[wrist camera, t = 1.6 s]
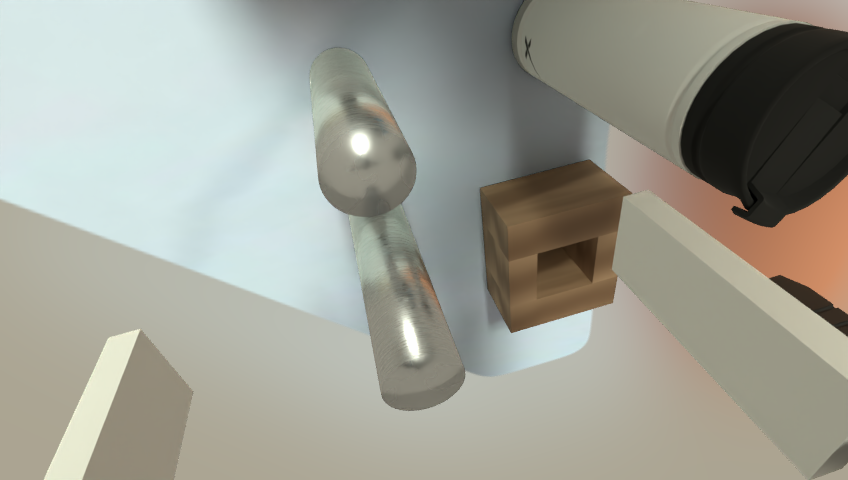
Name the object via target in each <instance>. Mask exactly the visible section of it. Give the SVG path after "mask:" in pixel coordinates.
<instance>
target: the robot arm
mask: <svg viewBox="0 0 848 480" xmlns="http://www.w3.org/2000/svg"><path fill="white" fill-rule="evenodd" d="M612 270H613V271H614V272H615V273H616V275H617V276H618V277H619V278H620V279H621V280H622V281H623V282H624V283H625V284H626V285H627V286H628V287H629V289H630V290H631V291H632V292H633V293H634V294H635V295H636V296H637V297H638V298H639V299H640V300H641V301H642V302H643V304H644V305H645V306H646V307H647V308H648V309H649V310H650V311H651V312H652V313H653V314H654V315H655V316H656V318H658V320H659V321H660V322H661V323H662V324H663V325H664V326H665V327H666V328H667V329H668V331H669V332H671V334H672V335H673V336H674V337H675V338H676V339H677V340H678V341H679V342H680V343H681V345H682V346H683V347H685V349H686V350H687V351H688V352H689V353H690V354H691V355H692V356H693V357H694V359H695V360H697V362H698V363H699V364H700V365H701V366H702V367H703V368H704V369H705V370H706V371H707V372H708V374H709V375H710V376H711V377H712V378H713V379H714V380H715V381H716V382H717V383H718V384H719V385H720V386H721V388H722V389H723V390H725V392H726V393H727V394H728V395H729V396H730V397H731V398H732V399H733V400H734V401H735V402H736V404H737V405H738V406H739V407H740V408H741V409H742V410H743V411H744V412H745V413H746V414H747V415H748V417H749V418H750V419H751V420H752V421H753V422H754V423H755V424H756V425H757V426H758V427H759V428H760V430H762V432H763V433H764V434H765V435H766V436H767V437H768V438H769V439H770V440H771V441H772V442H773V444H774V445H775V446H776V447H777V448H778V449H779V450H780V451H781V452H782V453H783V454H784V455H785V456H786V458H787V459H788V460H789V461H790V462H791V463H792V464H793V465H794V466H795V467H796V468H797V469H798V470H799V472H800V473H802V475H803V476H804V477H805V478H806V479H807V480H811V479H814V478H817V477H820V476H823V475H825V474H828V473H831V472H834V471H836V470H839V469H842V468H843V467H844V466H845V465H846V464H847V463H848V314H846V313H845V312H843V311H842V310H841V309H839V308H834V307H833V304H832V303H831V302H829V301H827V300H826V299H825V298H823V297H822V296H820V295H819V294H818V293H816V292H815V291H813V290H812V289H810V288H809V287H807V286H805V285H802V284H800V283H798V282H795V281H793V280H790V279H788V278H786V277H783V276H781V275H778V276H775V277H772V278H767V277H766V276H764V275H763V274H762V273H760V272H759V271H758V270H756V269H755V268H754V267H752V266H751V265H750V264H748V263H747V262H745V261H744V260H743V259H741V258H740V257H739V256H737V255H736V254H735V253H733V252H732V251H731V250H729V249H728V248H727V247H725V246H724V245H723V244H721V243H720V242H718V241H717V240H716V239H714V238H713V237H712V236H710V235H709V234H708V233H706V232H705V231H704V230H702V229H701V228H699V227H698V226H697V225H695V224H694V223H693V222H691V221H690V220H689V219H687V218H686V217H685V216H683V215H682V214H680V213H679V212H678V211H676V210H675V209H674V208H672V207H671V206H670V205H668V204H667V203H666V202H664V201H663V200H662V199H660V198H659V197H657V196H656V195H655V194H654V193H652V192H651V191H649V190H646V191H642V192H639V193H635V194H631V195H627V196H624V197H623V202H622V209H621V215H620V221H619V227H618V234H617V240H616V246H615V252H614V259H613V265H612ZM192 395H193V391H192V389H191V388H190V387H189V386H188V385H187V384H186V382H185V381H184V380H183V379H182V378H181V376H180V375H179V374H178V373H177V372H176V371H175V369H174V368H173V367H172V366H171V365H170V364H169V362H168V361H167V360H166V359H165V357H164V356H163V355H162V354H161V353H160V351H159V350H158V349H157V348H156V347H155V346H154V344H153V343H152V342H151V341H150V340H149V338H148V337H147V336H146V335H145V334H144V333H143V331H142V330H141V329H138V330H135V331H131V332H127V333H124V334H120V335H117V336H113V337H109V338H108V340H107V342H106V345H105V347H104V349H103V351H102V353H101V356H100V358H99V360H98V362H97V364H96V366H95V369H94V371H93V373H92V375H91V377H90V380H89V382H88V384H87V386H86V388H85V391H84V393H83V395H82V397H81V399H80V401H79V404H78V406H77V408H76V410H75V412H74V414H73V417H72V419H71V421H70V423H69V425H68V428H67V430H66V432H65V434H64V436H63V439H62V441H61V443H60V445H59V447H58V450H57V452H56V454H55V456H54V458H53V461H52V463H51V465H50V467H49V469H48V471H47V474H46V476H45V478H44V480H174V477H175V472H176V468H177V463H178V459H179V454H180V449H181V445H182V440H183V435H184V431H185V427H186V422H187V418H188V413H189V409H190V404H191V399H192Z"/></svg>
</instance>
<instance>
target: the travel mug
mask: <svg viewBox="0 0 848 480" xmlns="http://www.w3.org/2000/svg"><path fill="white" fill-rule="evenodd" d="M511 42H512V50H513V53H514V56H515V59H516V60H517V62H518V64H519V65H520V67H521V68H522V69H523V70H524V71H526V72H527V73H529V74H530V75H532V76H534V77H535V78H537V79H539V80H540V81H542V82H543V83H545V84H547V85H548V86H550V87H551V88H553V89H555V90H556V91H558V92H559V93H561V94H563V95H564V96H566V97H567V98H569V99H571V100H572V101H574V102H575V103H577V104H579V105H580V106H582V107H583V108H585V109H587V110H588V111H590V112H592V113H593V114H595V115H596V116H598V117H600V118H601V119H603V120H604V121H606V122H608V123H609V124H611V125H612V126H614V127H616V128H617V129H619V130H620V131H622V132H624V133H625V134H627V135H628V136H630V137H632V138H633V139H635V140H637V141H638V142H640V143H642V144H643V145H645V146H646V147H648V148H649V149H651V150H653V151H654V152H656V153H657V154H659V155H661V156H662V157H664V158H666V159H667V160H669V161H670V162H672V163H673V164H675V165H677V166H679V167H680V168H681V169H683V170H685V171H687V172H688V173H690V174H691V175H693V176H694V177H696V178H698V179H702V180H704V181H705V182H707V183H709V184H710V185H712V186H713V187H715V188H717V189H718V190H720V191H721V192H723V193H726V194H729V195H732V196H736V197H737V198H739V199H740V200H741V202H742V204H743V206H744V208H745V209H747V210H748V211H745V210H743V209H741V208H738V207H736V206H734V207H733V208H732V209H731V210H732V211H733V213H734V214H735V215H737V216H739V217H741V218H744V219H746V220H748V221H750V222H752V223H754V224H757V225H760V226H765V227H775V226H776V225H777V224H778V223H779V222H780V221H781V220H782V219H783V218H784V217H785V215H788V214H791V213H795V212H797V211H799V210H801V209H804V208H806V207H808V206H809V205H811V204H812V203H814V202H816V201H817V200H819V199H821V198H822V197H823V196H824V195H826V194H827V193H828V192H830V191H831V190H832V189H833V188H835V186H837V185H838V184H839V183H840V182H841V181H842V180H843V179H844V178H845V177H846V176H847V175H848V32H844V31H839V30H833V29H825V28H822V27H817V26H813V25H811V24H809V23H807V22H801V21H794V20H788V19H785V18H779V17H774V16H769V15H763V14H757V13H752V12H747V11H741V10H736V9H731V8H725V7H720V6H714V5H709V4H703V3H698V2H693V1H687V0H525V1H524V2H523V4H522V5H521V7H520V9H519V10H518V13H517V15H516V18H515V20H514V24H513V29H512V39H511Z"/></svg>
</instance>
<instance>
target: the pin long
mask: <svg viewBox="0 0 848 480" xmlns="http://www.w3.org/2000/svg"><path fill="white" fill-rule="evenodd" d="M348 216H349V222H350V227H351V233H352V238H353V243H354V249H355V254H356V260H357V265H358V271H359V276H360V281H361V287H362V292H363V298H364V303H365V309H366V314H367V320H368V325H369V330H370V336H371V341H372V347H373V352H374V357H375V363H376V368H377V374H378V379H379V385H380V390H381V395H382V398H383V400H384V401H385V402H386V403H387V404H388V405H389V406H391V407H393V408H395V409H399V410H406V411H407V410H408V411H414V410H421V409H426V408H430V407H433V406H436V405H438V404H440V403H442V402H444V401H446V400H447V399H449V398H450V397H451V396H453V395H454V394H455V393H456V392H457V391H458V390H459V389H460V387H461V386H462V384H463V382H464V379H465V369H464V366H463V364H462V361H461V359H460V356H459V353H458V351H457V348H456V346H455V343H454V340H453V338H452V335H451V333H450V330H449V327H448V325H447V322H446V320H445V317H444V314H443V312H442V309H441V306H440V304H439V301H438V299H437V296H436V293H435V291H434V288H433V286H432V283H431V280H430V278H429V275H428V273H427V270H426V267H425V265H424V262H423V259H422V257H421V254H420V252H419V249H418V246H417V244H416V241H415V239H414V236H413V233H412V231H411V228H410V226H409V223H408V220H407V218H406V215H405V213H404V210H403V207H402V205H401V204H400V205H398V206H397V207H396V208H394V209H393V210H391V211H389V212H387V213H384V214H381V215H377V216H372V217H359V216H353V215H349V214H348Z"/></svg>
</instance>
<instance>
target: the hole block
mask: <svg viewBox="0 0 848 480" xmlns="http://www.w3.org/2000/svg"><path fill="white" fill-rule="evenodd" d="M631 194H632V193H631V192H630V191H629V190H628V189H626V188H625V187H624V186H622V185H621V184H620V183H619V182H617V181H616V180H615V179H614V178H612V177H611V176H610V175H609V174H607V173H606V172H605V171H603V170H602V169H601V168H600V167H598V166H597V165H596V164H595V163H593V162H592V161H591V160H586V161H582V162H578V163H574V164H570V165H567V166H563V167H559V168H555V169H551V170H547V171H543V172H540V173H536V174H532V175H528V176H524V177H520V178H516V179H513V180H509V181H505V182H501V183H497V184H493V185H489V186H485V187H482V188H480V196H481V209H482V222H483V235H484V248H485V261H486V273H487V286H488V291H489V292H490V294H491V296H492V298H493V300H494V302H495V304H496V306H497V308H498V309H499V311H500V313H501V315H502V317H503V319H504V321H505V323H506V324H507V326H508V328H509V330H510V332H511V333H513V332H517V331H520V330H523V329H527V328H530V327H533V326H537V325H540V324H544V323H547V322H550V321H554V320H557V319H560V318H564V317H567V316H570V315H574V314H577V313H581V312H584V311H587V310H591V309H594V308H597V307H600V306H604V305H607V304H611V303H613V299H614V293H615V288H616V282H617V275H616V273H615V272H614V271H613V270H612V265H613V259H614V252H615V246H616V240H617V234H618V227H619V221H620V215H621V209H622V202H623V197H624V196H627V195H631Z"/></svg>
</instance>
